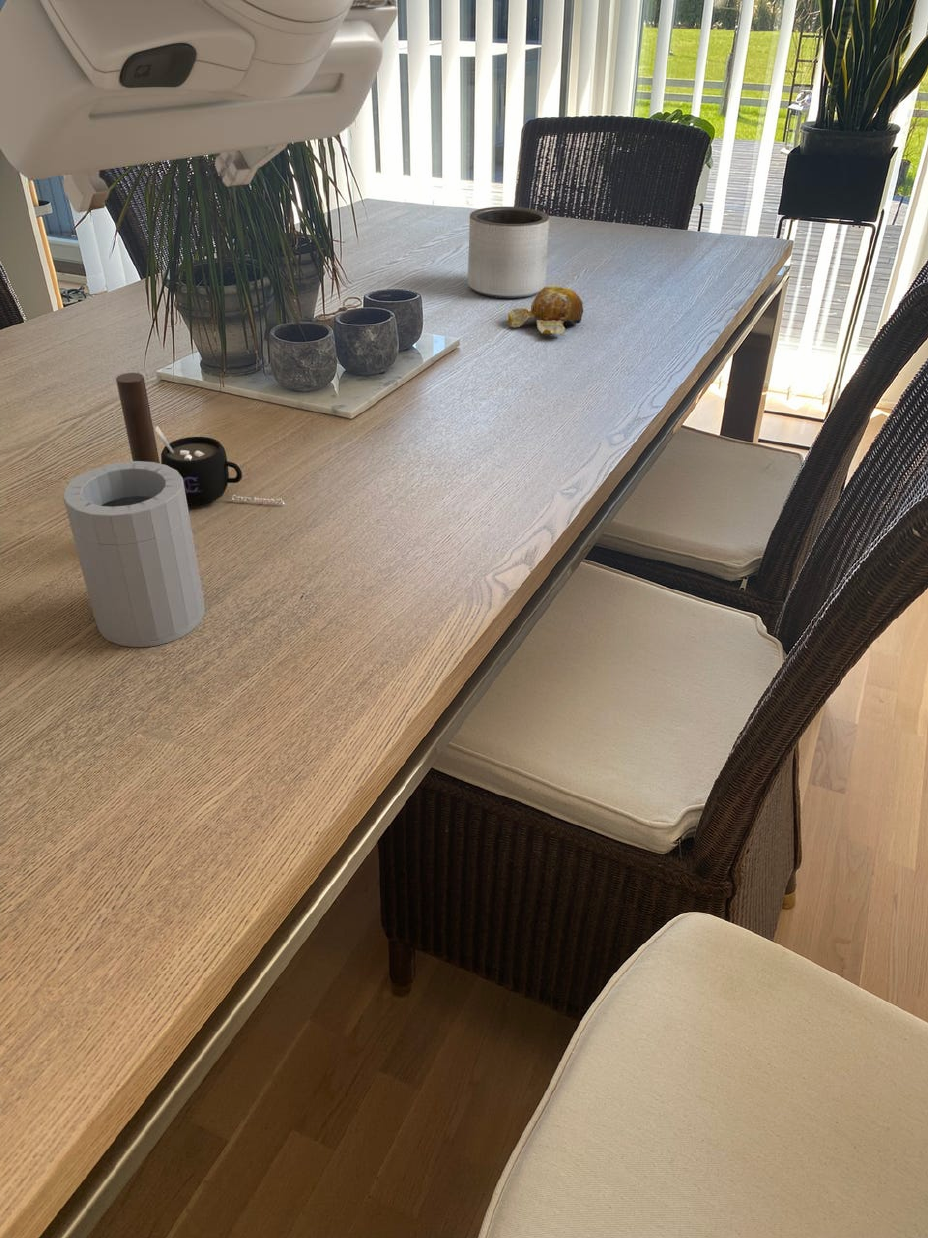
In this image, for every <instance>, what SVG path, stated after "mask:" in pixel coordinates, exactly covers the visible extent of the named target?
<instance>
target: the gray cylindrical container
mask: <svg viewBox="0 0 928 1238" xmlns="http://www.w3.org/2000/svg"><path fill="white" fill-rule="evenodd" d="M62 499H63V503H64V506H65V511H66V514H67V519H68V522H69V526H70V529H71V533H72V537H73V541H74V544H75V549H76V553H77V556H78V561H79V563H80V568H81V572H82V577H83V580H84V583H85V588H86V592H87V595H88V598H89V603H90V608H91V610H92V614H93V618H94V621H95V624H96V627H97V630H98V632H99V634H100V635H101V636H102V637H103V638H104V639H105V640H107V641H109V642H111V643H113V644H115V645H117V646H122V647H128V648H129V647H130V648H149V647H156V646H161V645H166V644H168V643H171V642H175V641H177V640H179V639H182V638H183V637H185V636H187V635H188V634H189V633H191V632H192V631H194V630H195V629H196V628H197V627H198V626H199V625H200V623H201V622H202V620H203V619H204V616H205V613H206V606H205V598H204V593H203V592H204V591H203V587H202V581H201V574H200V569H199V564H198V558H197V552H196V547H195V546H196V545H195V539H194V535H193V529H192V522H191V518H190V511H189V506H188V505H189V504H187V500H186V494H185V488H184V482H183V478H182V476H181V475H180V474H179V473H178V471H177V470H175V469H173V468H171V467H169V466H167V465H164V464H161V463H160V464H159V463H155V462H144V461H133V460H132V461H120V462H113V463H109V464H105V465H101V466H98V467H95V468H93V469H89V470H88V471H85V472H83V473H81V474H80V475H78V476H76V477H74V478H73V479H71V481H70V482H69V483H68V484H67V485H66V486H65V487H64V490H63V495H62Z"/></svg>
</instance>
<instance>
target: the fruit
mask: <svg viewBox="0 0 928 1238" xmlns="http://www.w3.org/2000/svg"><path fill="white" fill-rule="evenodd" d="M583 305H584V304H583V301H582V299H581V297H580V296H579V294H577V292H576V291H574V290H573V289H570V288H566V287H562V286H545V287H544V288H543V289H542V290H541V291H540V292H538V293H537V294H536V296H535V297H534V299H533V301H532V302H531V305H530V310H528V309H527V308H522V307H518V308H514V309H512V310H510V311H509V312H508V313H507V314H508V324H509V326H510V327H511V328H520V326H522V325H525V322H526V321H527V320H528V319H529V318H531V317H532V318H534V319H535V320H536V328H537V330H539V333H540V334H545V335H552V336H554V335H563V334H564V333H566V328H565V326H564V322H566V321H571V322H573V323H575V324H580V323H581V321H582V317H583V314H584V307H583Z"/></svg>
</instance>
